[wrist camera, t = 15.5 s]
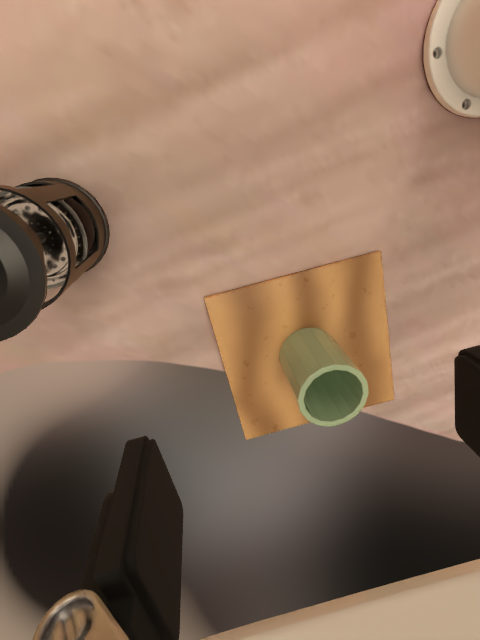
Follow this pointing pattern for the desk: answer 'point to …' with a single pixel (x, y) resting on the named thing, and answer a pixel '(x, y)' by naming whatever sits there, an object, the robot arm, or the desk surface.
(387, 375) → the mat
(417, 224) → the desk surface
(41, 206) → the french press
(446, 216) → the desk surface
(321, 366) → the pot
